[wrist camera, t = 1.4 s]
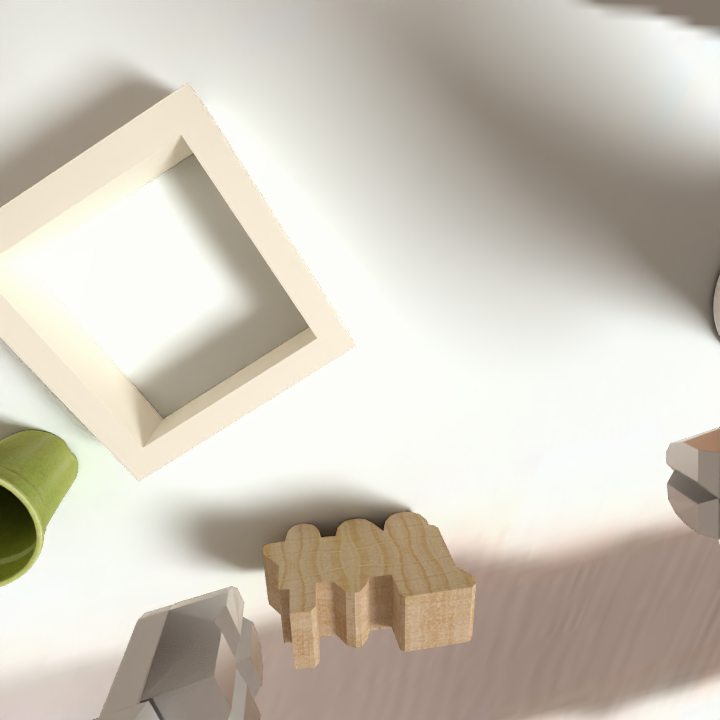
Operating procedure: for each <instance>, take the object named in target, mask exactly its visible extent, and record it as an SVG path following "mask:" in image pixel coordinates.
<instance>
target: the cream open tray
mask: <svg viewBox="0 0 720 720" xmlns="http://www.w3.org/2000/svg"><path fill="white" fill-rule="evenodd" d="M193 153H194V155H195V156H196V158H197V159H198V161H199V162H200V164H201V165H202V167H203V168H204V170H205V171H206V173H207V174H208V176H209V177H210V179H211V180H212V182H213V183H214V185H215V186H216V188H217V189H218V191H219V192H220V194H221V195H222V197H223V198H224V200H225V201H226V203H227V204H228V206H229V207H230V209H231V210H232V212H233V213H234V215H235V216H236V218H237V219H238V221H239V222H240V224H241V225H242V227H243V228H244V230H245V231H246V233H247V234H248V236H249V237H250V239H251V240H252V242H253V243H254V245H255V246H256V248H257V249H258V251H259V252H260V254H261V255H262V257H263V258H264V260H265V261H266V263H267V264H268V265H269V267H270V268H271V270H272V271H273V273H274V274H275V276H276V277H277V279H278V280H279V282H280V283H281V285H282V286H283V288H284V289H285V291H286V292H287V294H288V295H289V297H290V298H291V300H292V301H293V303H294V304H295V306H296V307H297V309H298V310H299V312H300V313H301V315H302V316H303V318H304V319H305V321H306V322H307V324H308V325H309V327H308V328H307V329H305V330H304V331H302V332H300V333H299V334H297V335H296V336H294V337H292V338H291V339H289V340H288V341H286V342H285V343H283V344H281V345H280V346H278V347H277V348H275V349H273V350H272V351H270V352H269V353H267V354H265V355H264V356H262V357H261V358H259V359H258V360H256V361H254V362H253V363H251V364H250V365H248V366H246V367H245V368H243V369H242V370H240V371H238V372H237V373H235V374H234V375H232V376H231V377H229V378H227V379H226V380H224V381H223V382H221V383H219V384H218V385H216V386H215V387H213V388H211V389H210V390H208V391H207V392H205V393H204V394H202V395H200V396H199V397H197V398H196V399H194V400H192V401H191V402H189V403H188V404H186V405H184V406H183V407H181V408H180V409H178V410H177V411H175V412H173V413H172V414H170V415H169V416H167V417H165V418H164V419H163V418H162V417H161V416H160V415H159V413H158V412H157V411H156V410H155V409H154V408H153V407H152V405H151V404H150V403H149V402H148V401H147V400H146V399H145V397H144V396H143V395H142V394H141V393H140V392H139V391H138V389H137V388H136V387H135V386H134V385H133V384H132V383H131V381H130V380H129V379H128V378H127V377H126V376H125V375H124V373H123V372H122V371H121V370H120V369H119V368H118V367H117V365H116V364H115V363H114V362H113V361H112V360H111V359H110V357H109V356H108V355H107V354H106V353H105V352H104V351H103V349H102V348H101V347H100V346H99V345H98V344H97V343H96V341H95V340H94V339H93V338H92V337H91V336H90V334H89V333H88V332H87V331H86V330H85V329H84V328H83V326H82V325H81V324H80V323H79V322H78V321H77V320H76V318H75V317H74V316H73V315H72V314H71V313H70V312H69V310H68V309H67V308H66V307H65V306H64V305H63V304H62V302H61V301H60V300H59V299H58V298H57V297H56V296H55V294H54V293H53V292H52V291H51V290H50V289H49V288H48V286H47V285H46V284H45V283H44V282H43V281H42V280H41V278H40V277H39V276H38V275H37V274H36V273H35V272H34V270H33V269H32V268H31V267H30V266H29V265H28V264H27V262H29V261H30V260H32V259H33V258H35V257H36V256H38V255H39V254H41V253H42V252H44V251H45V250H47V249H48V248H50V247H52V246H53V245H55V244H56V243H58V242H59V241H61V240H62V239H64V238H65V237H67V236H68V235H70V234H71V233H73V232H74V231H76V230H77V229H79V228H80V227H82V226H83V225H85V224H86V223H88V222H90V221H91V220H93V219H94V218H96V217H97V216H99V215H100V214H102V213H103V212H105V211H106V210H108V209H109V208H111V207H112V206H114V205H115V204H117V203H118V202H120V201H121V200H123V199H124V198H126V197H127V196H129V195H131V194H132V193H134V192H135V191H137V190H138V189H140V188H141V187H143V186H144V185H146V184H147V183H149V182H150V181H152V180H153V179H155V178H156V177H158V176H159V175H161V174H162V173H164V172H165V171H167V170H169V169H170V168H172V167H173V166H175V165H176V164H178V163H179V162H181V161H182V160H184V159H185V158H187V157H188V156H190V155H191V154H193ZM0 338H1V339H2V340H3V341H4V342H5V343H6V344H7V345H8V346H9V347H10V348H11V349H12V350H13V351H14V352H15V353H16V354H17V355H18V356H19V358H20V359H21V360H22V361H23V362H24V363H25V364H26V365H27V366H28V367H29V368H30V369H31V370H32V371H33V372H34V373H35V374H36V375H37V376H38V377H39V378H40V379H41V380H42V382H43V383H44V384H45V385H46V386H47V387H48V388H49V389H50V390H51V391H52V392H53V393H54V394H55V395H56V396H57V397H58V398H59V399H60V400H61V401H62V402H63V403H64V404H65V405H66V407H67V408H68V409H69V410H70V411H71V412H72V413H73V414H74V415H75V416H76V417H77V418H78V419H79V420H80V421H81V422H82V423H83V424H84V425H85V426H86V427H87V428H88V429H89V431H90V432H91V433H92V434H93V435H94V436H95V437H96V438H97V439H98V440H99V441H100V442H101V443H102V444H103V445H104V446H105V447H106V448H107V449H108V450H109V451H110V452H111V453H112V454H113V456H114V457H115V458H116V459H117V460H118V461H119V462H120V463H121V464H122V465H123V466H124V467H125V468H126V469H127V470H128V471H129V472H130V473H131V474H132V475H133V476H134V477H135V478H136V480H137V481H138V482H139V481H140V480H142V479H144V478H145V477H147V476H148V475H150V474H152V473H153V472H155V471H156V470H158V469H160V468H161V467H163V466H165V465H166V464H168V463H169V462H171V461H173V460H174V459H176V458H177V457H179V456H181V455H182V454H184V453H185V452H187V451H189V450H190V449H192V448H193V447H195V446H197V445H198V444H200V443H201V442H203V441H205V440H206V439H208V438H209V437H211V436H213V435H214V434H216V433H217V432H219V431H221V430H222V429H224V428H225V427H227V426H229V425H230V424H232V423H233V422H235V421H237V420H238V419H240V418H241V417H243V416H245V415H246V414H248V413H249V412H251V411H253V410H254V409H256V408H257V407H259V406H261V405H262V404H264V403H265V402H267V401H269V400H270V399H272V398H273V397H275V396H277V395H278V394H280V393H281V392H283V391H285V390H286V389H288V388H289V387H291V386H293V385H294V384H296V383H297V382H299V381H301V380H302V379H304V378H305V377H307V376H309V375H310V374H312V373H313V372H315V371H317V370H318V369H320V368H321V367H323V366H325V365H326V364H328V363H330V362H331V361H333V360H334V359H336V358H338V357H339V356H341V355H342V354H344V353H346V352H347V351H349V350H350V349H352V348H354V347H355V344H354V342H353V340H352V338H351V336H350V334H349V332H348V330H347V328H346V327H345V325H344V324H343V322H342V320H341V319H340V317H339V316H338V314H337V313H336V311H335V309H334V308H333V306H332V305H331V303H330V301H329V300H328V298H327V297H326V295H325V294H324V292H323V290H322V289H321V287H320V286H319V284H318V283H317V281H316V279H315V278H314V276H313V275H312V273H311V272H310V270H309V268H308V267H307V265H306V264H305V262H304V261H303V259H302V257H301V256H300V254H299V253H298V251H297V250H296V248H295V246H294V245H293V243H292V242H291V240H290V239H289V237H288V235H287V234H286V232H285V231H284V229H283V228H282V226H281V224H280V223H279V221H278V220H277V218H276V217H275V215H274V213H273V212H272V210H271V209H270V207H269V205H268V204H267V202H266V201H265V199H264V198H263V196H262V194H261V193H260V191H259V190H258V188H257V187H256V185H255V183H254V182H253V180H252V179H251V177H250V176H249V174H248V172H247V171H246V169H245V168H244V166H243V165H242V163H241V161H240V160H239V158H238V157H237V155H236V154H235V152H234V150H233V149H232V147H231V146H230V144H229V143H228V141H227V139H226V138H225V136H224V135H223V133H222V132H221V130H220V128H219V127H218V125H217V124H216V122H215V121H214V119H213V117H212V116H211V114H210V113H209V111H208V109H207V108H206V106H205V105H204V104H203V102H202V101H201V100H200V98H199V97H198V96H197V94H196V93H195V92H194V91H193V89H192V88H191V87H190V85H189V84H188V83H186V84H185V85H183V86H182V87H180V88H179V89H177V90H176V91H174V92H173V93H171V94H170V95H168V96H167V97H165V98H164V99H162V100H161V101H159V102H158V103H156V104H155V105H153V106H152V107H150V108H149V109H147V110H146V111H144V112H143V113H141V114H140V115H138V116H137V117H135V118H134V119H132V120H131V121H129V122H128V123H126V124H125V125H123V126H122V127H120V128H119V129H117V130H116V131H114V132H113V133H111V134H110V135H108V136H107V137H105V138H104V139H102V140H101V141H99V142H98V143H96V144H95V145H93V146H92V147H90V148H89V149H87V150H86V151H84V152H83V153H81V154H80V155H78V156H77V157H75V158H74V159H72V160H71V161H69V162H68V163H66V164H65V165H63V166H62V167H60V168H59V169H57V170H56V171H54V172H53V173H51V174H50V175H48V176H47V177H45V178H44V179H42V180H41V181H39V182H38V183H36V184H35V185H33V186H32V187H30V188H29V189H27V190H26V191H24V192H23V193H21V194H20V195H18V196H17V197H15V198H14V199H12V200H11V201H9V202H8V203H6V204H5V205H3V206H2V207H0Z"/></svg>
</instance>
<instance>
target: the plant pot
mask: <svg viewBox="0 0 720 720" xmlns="http://www.w3.org/2000/svg"><path fill="white" fill-rule="evenodd" d="M77 472H78V462H77V458H76V456H75V455H74V454H73V453H72V452H71V451H70V449H69V448H68V446H67V444H66V443H65V442H64V441H63V440H62V439H60V438H59V437H57V436H55V435H53V434H50V433H48V432H43V431H36V430H27V431H22V432H18V433H15V434H13V435H10V436H8V437H6V438H4V439H2V440H0V587H1V586H4V585H6V584H9V583H11V582H13V581H15V580H16V579H18V578H20V577H21V576H22V575H24V574H25V573H26V572H27V571H28V570H29V569H30V568H31V567H32V565H33V564H34V563H35V561H36V560H37V558H38V556H39V554H40V552H41V550H42V546H43V541H44V534H45V531H46V526H47V524H48V523H49V521H50V519H51V518H52V516H53V514H54V513H55V511H56V509H57V508H58V506H59V504H60V503H61V501H62V499H63V498H64V496H65V495H66V493H67V491H68V490H69V488H70V487H71V485H72V483H73V482H74V480H75V478H76V476H77Z"/></svg>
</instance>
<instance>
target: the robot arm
mask: <svg viewBox="0 0 720 720" xmlns="http://www.w3.org/2000/svg"><path fill="white" fill-rule="evenodd" d="M713 312H714V320H715V325H716V328H717V331H718V334H719V336H720V275H719V278H718V281H717V285H716V289H715V294H714V304H713ZM666 463H667V464H668V465H669V466H670V467H671V468H672V469H673V470H674V472H673V474H672V476H671V477H670V479H669V481H668V483H667V490H668V500H669V501H670V503H671V505H672V507H673V509H674V511H675V513H676V514H677V515H678V517H679V518H680V519H681V520H682V521H683V522H684V523H685V524H686V525H687V526H689V527H690V528H691V529H693V530H694V531H695V532H697V533H698V534H701V535H704V536H707V537H711V538H714V539H718V541H719V543H720V427H719V428H715V429H712V430H709V431H706V432H703V433H700V434H697V435H694V436H691V437H688V438H685V439H682V440H679V441H676V442H673V443H670V445H669V447H668V449H667V451H666ZM243 609H244V601H243V599H242V597H241V595H240V593H239V591H238V589H237V588H236V587H233V586H231V587H228V588H224V589H221V590H218V591H214V592H211V593H208V594H204V595H201V596H198V597H194V598H191V599H187V600H184V601H181V602H177V603H175V604H174V605H169V606H166V607H163V608H159V609H156V610H153V611H150V612H146V613H144V614H143V615H142V616H141V617H140V618H139V619H138V621H137V623H136V625H135V628H134V631H133V633H132V636H131V638H130V641H129V643H128V646H127V648H126V651H125V653H124V656H123V658H122V661H121V663H120V666H119V668H118V671H117V673H116V676H115V678H114V681H113V683H112V686H111V688H110V691H109V693H108V696H107V698H106V701H105V703H104V706H103V708H102V711H101V713H100V716H99V718H96V719H93V720H260V712H259V710H258V708H257V706H256V703H255V701H254V698H255V696H256V694H257V693H258V691H259V689H260V688H261V686H262V676H263V663H262V653H261V645H260V642H259V638H258V634H257V631H256V629H255V626H254V624H253V622H252V621H250V620H248V619H246V618H244V617H243Z"/></svg>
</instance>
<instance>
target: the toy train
mask: <svg viewBox="0 0 720 720" xmlns="http://www.w3.org/2000/svg"><path fill="white" fill-rule="evenodd" d="M262 551H263V560H264V569H265V577H266V586H267V595H268V601H269V604H270V605H271V606H272V607H273V608H274V609H275V610H276V611H277V612H278V613H280V614H281V619H282V629H283V638H284V643H293V653H294V664H295V669H303V668H312V667H316V665H317V664H318V663H319V638H320V636H333V635H337V636H338V637H339V638H340V639H341V640H342V641H343V642H344V643H345V644H346V645H348V646H352V647H355V648H357V647H360V646H362V645H363V644H364V643H365V641H366V640H367V638H368V635H369V632H370V630H377V629H384V628H391V627H392V629H393V632H394V634H395V637H396V640H397V642H398V645H399V648H400V650H402V651H404V652H407V651H413V650H420V649H426V648H432V647H438V646H444V645H450V644H456V643H463V642H469V640H470V639H471V638H472V631H473V617H474V602H475V588H476V581H475V577H474V576H472V575H471V574H470V573H468V572H466V571H464V570H462V569H460V568H458V567H456V566H455V564H454V562H453V559H452V557H451V555H450V553H449V551H448V549H447V546H446V544H445V542H444V540H443V538H442V536H441V534H440V531H439V529H438V528H437V527H436V526H434V525H429V524H428V522H427V520H426V519H424V518H423V517H422V516H421V515H420V514H416V513H413V512H398V513H395V514H393V515H391V516H389V518H388V519H387V520H386V521H385V525H384V531H382V530H381V529H380V528H379V527H377V526H376V525H375V524H373V523H372V522H370V521H368V520H366V519H359V518H356V519H350V520H347V521H344V522H343V523H342V524H341V525H340V526H339V527H338V529H337V532H336V536H330V537H321V535H320V532H319V530H318V529H317V528H316V527H315V526H314V525H312V524H306V523H301V524H297V525H294V526H292V527H291V529H290V530H289V531H288V532H287V535H286V539H285V541H282V542H276V543H270V544H266V545H265V546H263V549H262Z"/></svg>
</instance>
